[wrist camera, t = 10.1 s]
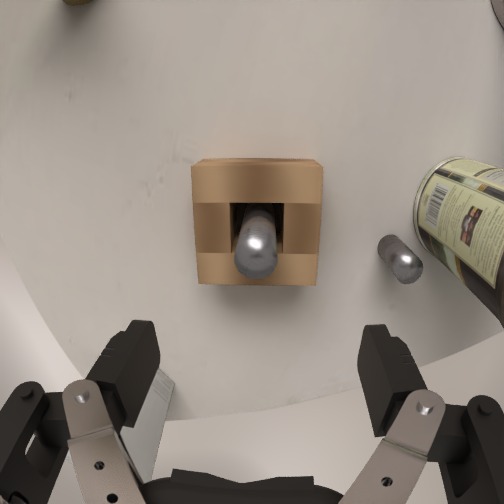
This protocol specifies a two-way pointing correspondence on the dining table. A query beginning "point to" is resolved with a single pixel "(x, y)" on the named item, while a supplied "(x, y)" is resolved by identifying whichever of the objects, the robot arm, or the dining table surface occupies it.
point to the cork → (77, 2)
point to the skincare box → (147, 427)
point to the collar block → (257, 191)
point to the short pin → (400, 259)
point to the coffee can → (466, 225)
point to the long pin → (257, 242)
